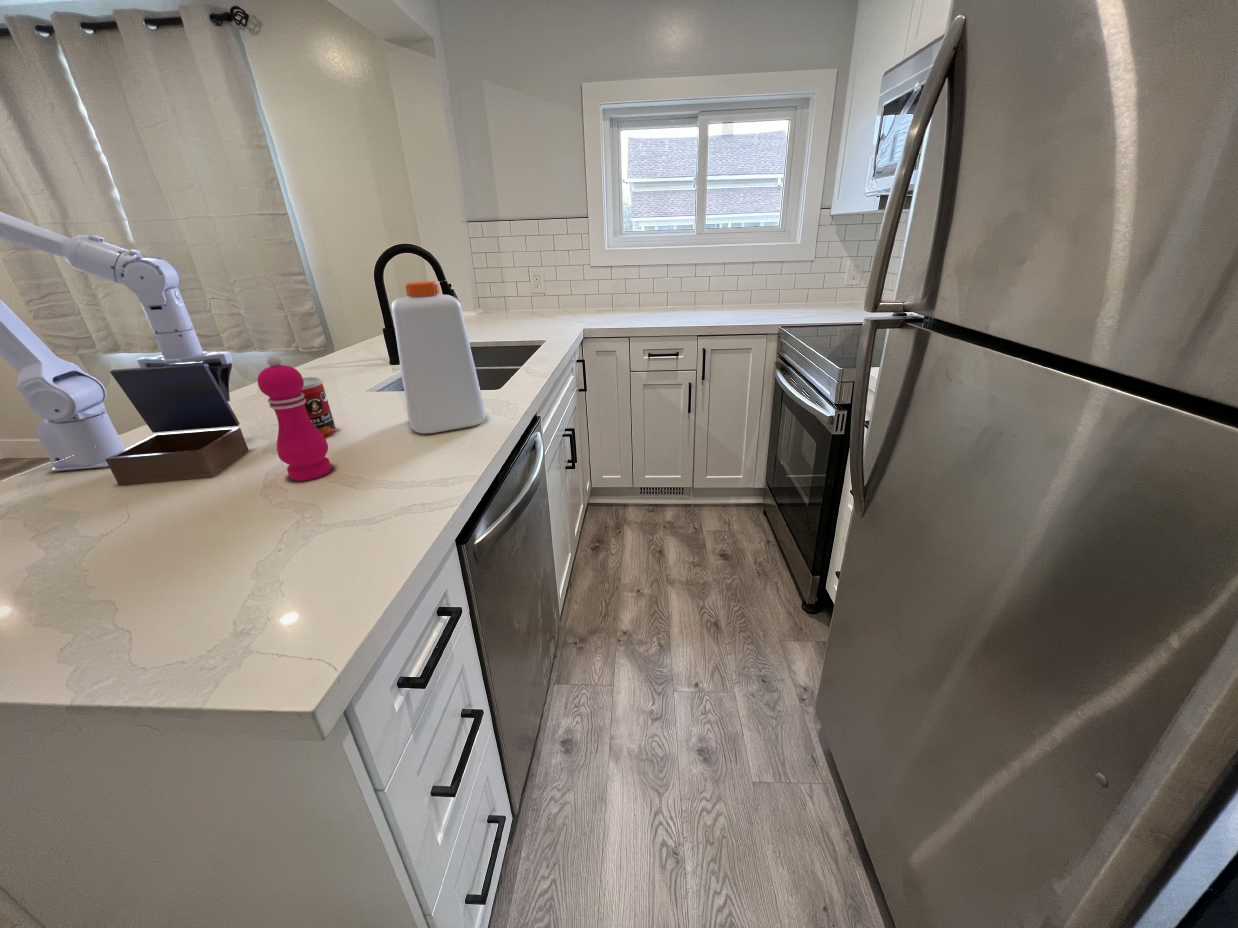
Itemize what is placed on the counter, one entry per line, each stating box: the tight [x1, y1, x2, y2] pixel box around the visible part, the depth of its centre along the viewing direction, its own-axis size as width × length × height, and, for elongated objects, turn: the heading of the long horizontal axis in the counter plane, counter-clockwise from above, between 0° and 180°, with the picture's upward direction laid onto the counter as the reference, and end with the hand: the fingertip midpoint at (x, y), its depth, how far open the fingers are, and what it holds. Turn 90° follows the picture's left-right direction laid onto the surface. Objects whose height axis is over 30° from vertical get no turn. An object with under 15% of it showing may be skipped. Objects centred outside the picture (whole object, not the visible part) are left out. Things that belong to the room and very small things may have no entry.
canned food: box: [301, 376, 336, 439], centre depth 99 cm, size 8×8×11 cm
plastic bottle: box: [391, 280, 487, 435], centre depth 101 cm, size 15×15×28 cm
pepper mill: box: [257, 355, 332, 482], centre depth 80 cm, size 7×7×20 cm
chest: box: [105, 426, 250, 486], centre depth 88 cm, size 12×15×5 cm
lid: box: [109, 364, 240, 434], centre depth 90 cm, size 12×15×5 cm
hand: (203, 403), depth 94 cm, fingers open, 7 cm apart
